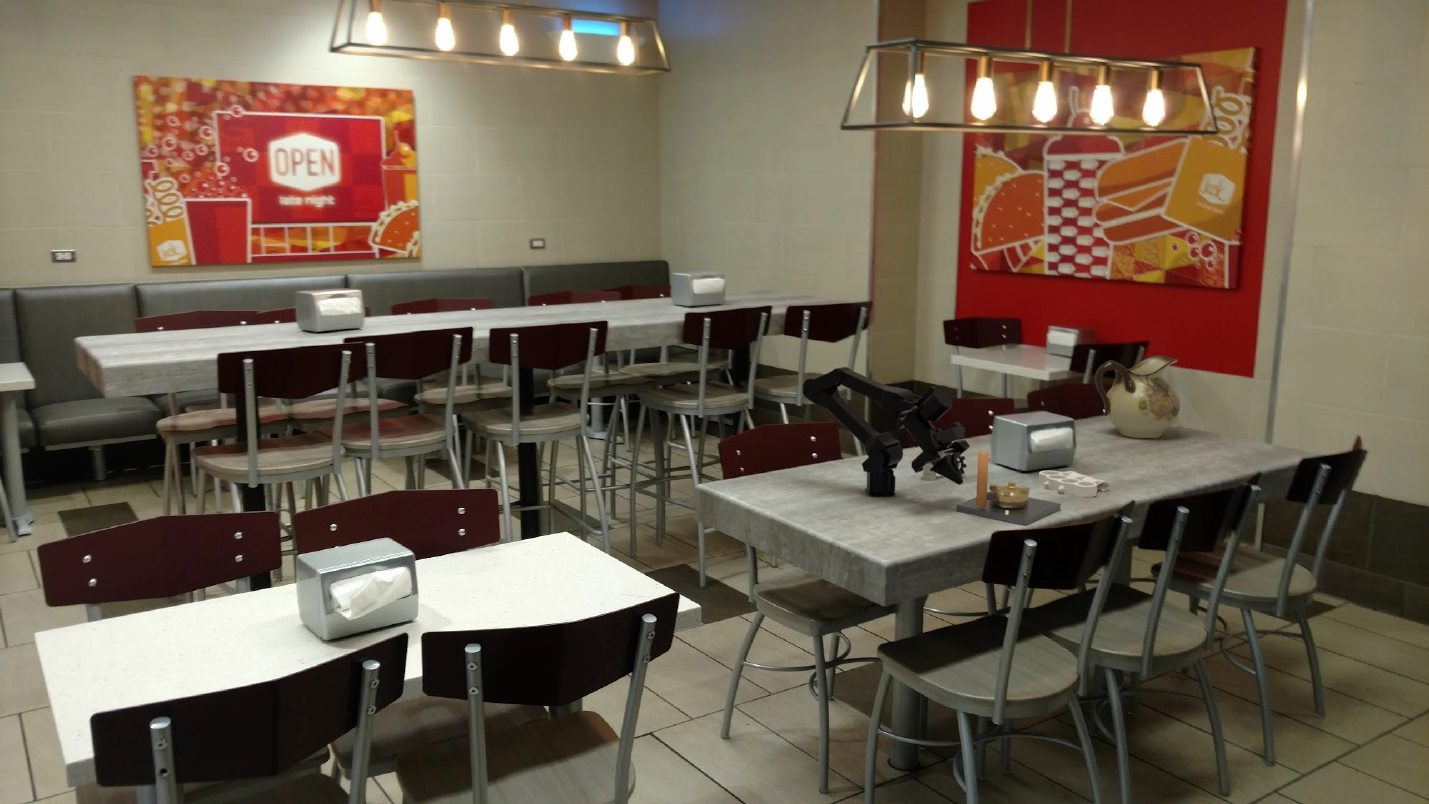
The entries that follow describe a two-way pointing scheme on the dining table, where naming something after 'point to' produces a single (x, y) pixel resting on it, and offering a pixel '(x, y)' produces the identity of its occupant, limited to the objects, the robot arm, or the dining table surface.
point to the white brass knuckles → (1071, 483)
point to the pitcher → (1140, 397)
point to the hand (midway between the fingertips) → (961, 483)
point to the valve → (932, 475)
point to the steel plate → (1011, 511)
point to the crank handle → (998, 489)
